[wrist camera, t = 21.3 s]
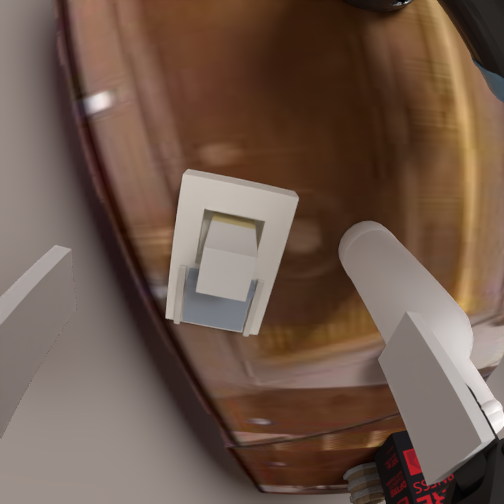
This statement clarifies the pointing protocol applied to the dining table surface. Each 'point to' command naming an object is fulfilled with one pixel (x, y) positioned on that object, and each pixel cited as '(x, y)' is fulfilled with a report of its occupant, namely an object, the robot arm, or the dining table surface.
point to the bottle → (411, 301)
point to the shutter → (214, 306)
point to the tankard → (364, 484)
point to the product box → (405, 473)
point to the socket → (236, 204)
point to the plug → (228, 257)
